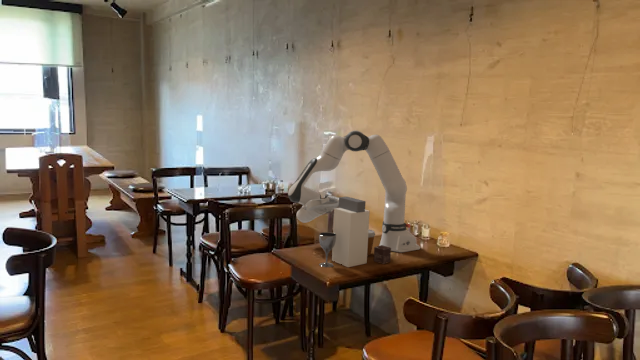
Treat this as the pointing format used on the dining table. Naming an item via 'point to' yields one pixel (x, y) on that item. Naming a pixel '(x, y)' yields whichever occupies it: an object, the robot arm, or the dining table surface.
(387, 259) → the box
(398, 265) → the dining table surface
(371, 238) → the disposable coffee cup
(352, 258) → the stand
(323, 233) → the wine glass
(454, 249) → the dining table surface
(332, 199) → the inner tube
